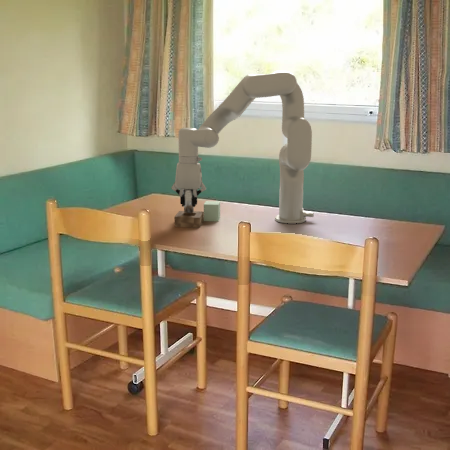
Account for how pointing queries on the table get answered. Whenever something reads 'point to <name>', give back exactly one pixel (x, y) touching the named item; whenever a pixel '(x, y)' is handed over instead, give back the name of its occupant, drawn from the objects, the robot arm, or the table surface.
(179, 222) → the socket block
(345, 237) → the table surface
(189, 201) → the metal peg
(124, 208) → the table surface
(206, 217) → the green block
